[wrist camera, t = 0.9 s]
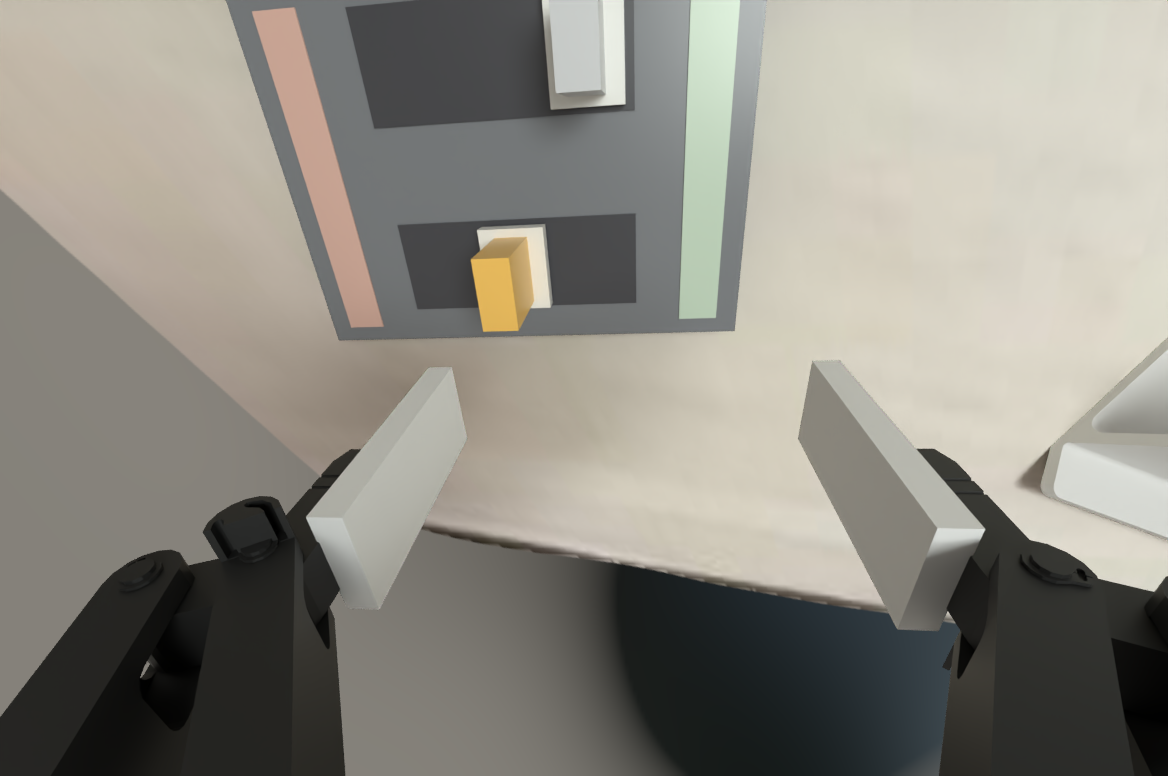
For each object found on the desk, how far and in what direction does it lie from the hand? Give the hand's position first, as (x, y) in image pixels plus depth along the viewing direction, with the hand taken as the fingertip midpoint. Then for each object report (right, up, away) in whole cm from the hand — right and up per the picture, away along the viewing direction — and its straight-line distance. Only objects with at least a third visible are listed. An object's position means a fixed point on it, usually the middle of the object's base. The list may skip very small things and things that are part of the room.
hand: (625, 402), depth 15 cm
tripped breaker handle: (-5, +8, +16) cm, 19 cm away
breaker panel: (-6, +14, +16) cm, 22 cm away
